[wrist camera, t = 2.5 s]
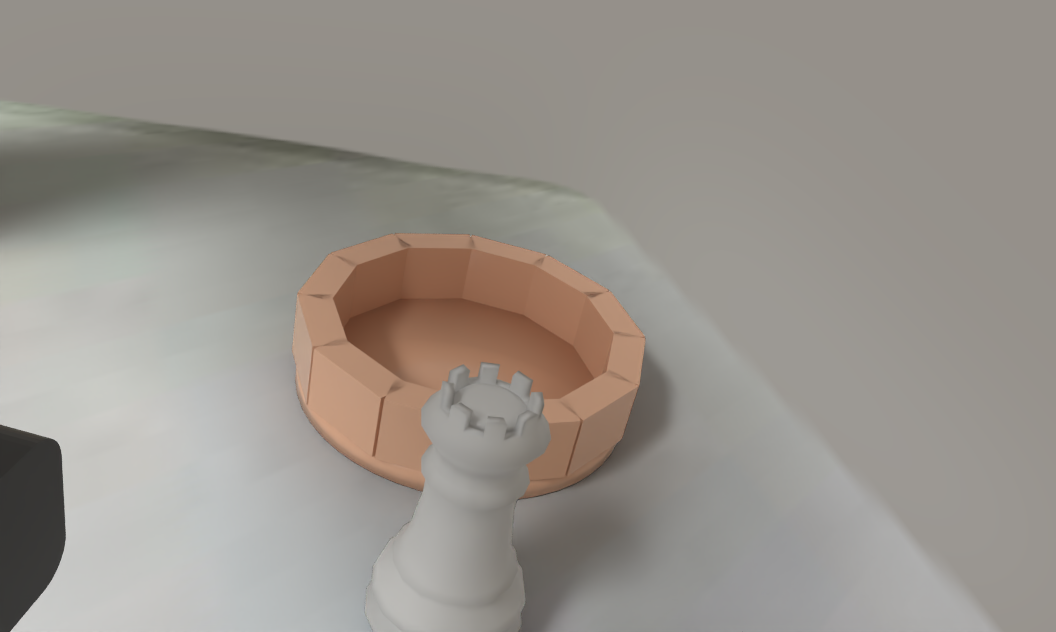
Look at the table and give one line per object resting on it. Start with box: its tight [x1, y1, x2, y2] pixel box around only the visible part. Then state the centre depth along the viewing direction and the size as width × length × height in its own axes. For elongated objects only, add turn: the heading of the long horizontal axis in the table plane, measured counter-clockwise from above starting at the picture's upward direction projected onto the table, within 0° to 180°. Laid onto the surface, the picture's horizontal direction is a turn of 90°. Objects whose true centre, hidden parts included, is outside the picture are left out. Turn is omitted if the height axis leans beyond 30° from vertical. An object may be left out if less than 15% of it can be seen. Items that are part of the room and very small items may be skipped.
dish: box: [292, 233, 646, 499], centre depth 36 cm, size 12×12×3 cm
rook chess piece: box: [365, 362, 551, 632], centre depth 26 cm, size 4×4×8 cm
